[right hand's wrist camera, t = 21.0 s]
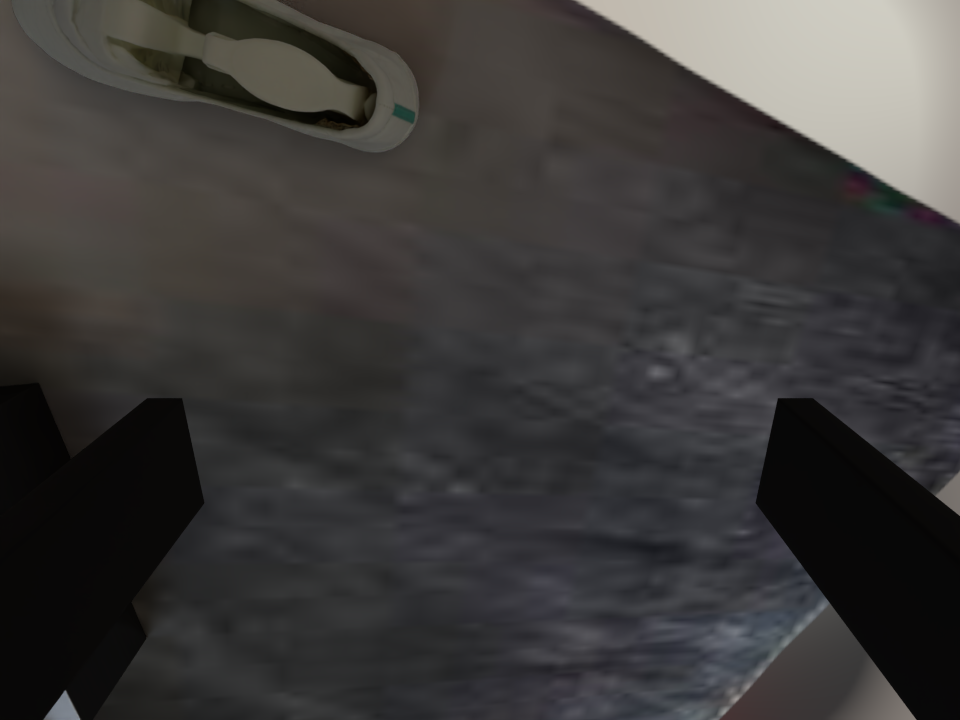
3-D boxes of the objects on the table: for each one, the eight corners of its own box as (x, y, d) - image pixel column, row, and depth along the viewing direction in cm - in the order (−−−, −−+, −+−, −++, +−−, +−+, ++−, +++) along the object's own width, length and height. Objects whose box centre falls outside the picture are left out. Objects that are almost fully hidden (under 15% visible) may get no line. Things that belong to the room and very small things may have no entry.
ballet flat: (31, -100, 33) (-98, -167, 26) (440, 42, 36) (430, 19, 28) (28, 57, 36) (-88, 38, 29) (406, 177, 39) (389, 188, 31)
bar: (-24, 388, 45) (-140, 447, 36) (38, 382, 44) (-64, 440, 36) (95, 642, 54) (25, 734, 46) (146, 638, 54) (86, 730, 46)
